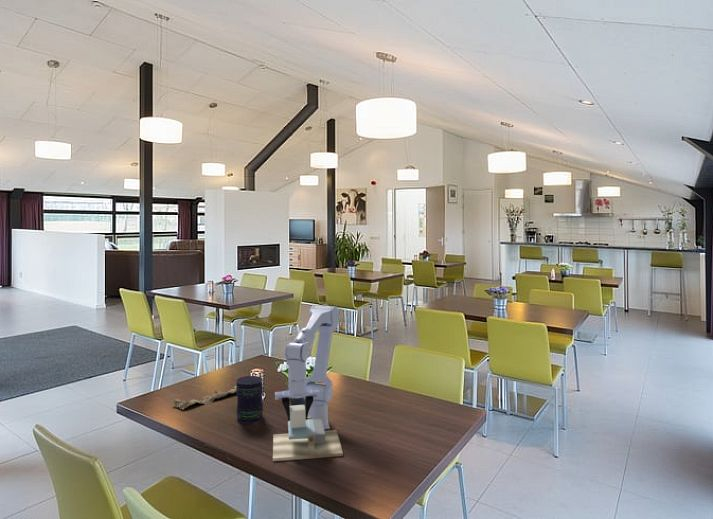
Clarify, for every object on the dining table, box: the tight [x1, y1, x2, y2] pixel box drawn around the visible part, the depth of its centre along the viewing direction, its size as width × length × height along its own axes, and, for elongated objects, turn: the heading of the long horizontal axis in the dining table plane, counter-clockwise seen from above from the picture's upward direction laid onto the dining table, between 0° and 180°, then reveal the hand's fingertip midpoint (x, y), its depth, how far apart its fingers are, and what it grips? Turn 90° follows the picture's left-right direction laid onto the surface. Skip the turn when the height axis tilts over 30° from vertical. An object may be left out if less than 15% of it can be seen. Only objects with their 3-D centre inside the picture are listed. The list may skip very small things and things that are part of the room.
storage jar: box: [235, 375, 264, 425], centre depth 177 cm, size 10×10×15 cm
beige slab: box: [272, 416, 344, 462], centre depth 155 cm, size 17×22×7 cm
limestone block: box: [290, 404, 306, 428], centre depth 154 cm, size 5×5×6 cm
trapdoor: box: [287, 419, 325, 444], centre depth 154 cm, size 12×12×3 cm
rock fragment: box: [171, 385, 237, 410], centre depth 200 cm, size 34×10×3 cm, turn 140°
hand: (297, 419), depth 154 cm, fingers closed on limestone block, 5 cm apart
